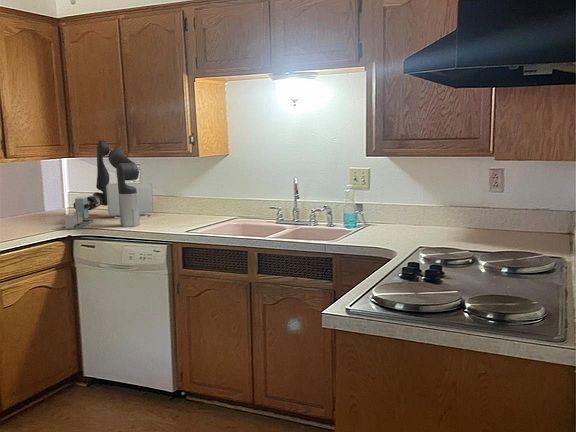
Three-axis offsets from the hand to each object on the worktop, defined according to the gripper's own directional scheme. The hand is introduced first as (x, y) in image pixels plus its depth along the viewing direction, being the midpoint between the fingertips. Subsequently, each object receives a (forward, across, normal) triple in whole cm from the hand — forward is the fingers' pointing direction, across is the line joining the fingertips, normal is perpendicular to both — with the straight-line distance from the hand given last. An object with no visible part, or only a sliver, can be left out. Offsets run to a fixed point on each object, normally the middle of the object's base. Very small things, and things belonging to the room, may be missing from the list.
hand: (79, 207), depth 317 cm
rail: (+5, 0, +10) cm, 11 cm away
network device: (-26, +20, +10) cm, 34 cm away
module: (-3, 0, +6) cm, 7 cm away
